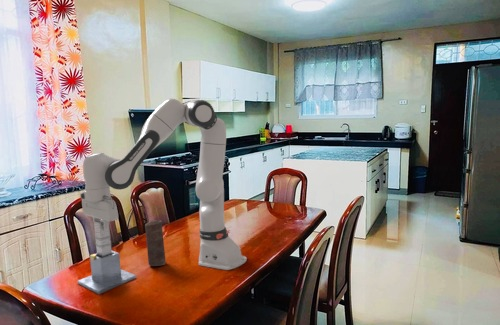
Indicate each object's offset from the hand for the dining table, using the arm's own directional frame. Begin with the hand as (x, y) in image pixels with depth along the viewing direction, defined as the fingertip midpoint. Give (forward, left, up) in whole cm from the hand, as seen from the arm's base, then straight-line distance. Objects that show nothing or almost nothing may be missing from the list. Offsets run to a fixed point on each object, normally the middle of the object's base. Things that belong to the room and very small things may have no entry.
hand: (102, 228), depth 139 cm
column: (0, 0, -19) cm, 19 cm away
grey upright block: (-5, -21, -22) cm, 31 cm away
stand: (0, 0, -22) cm, 22 cm away
